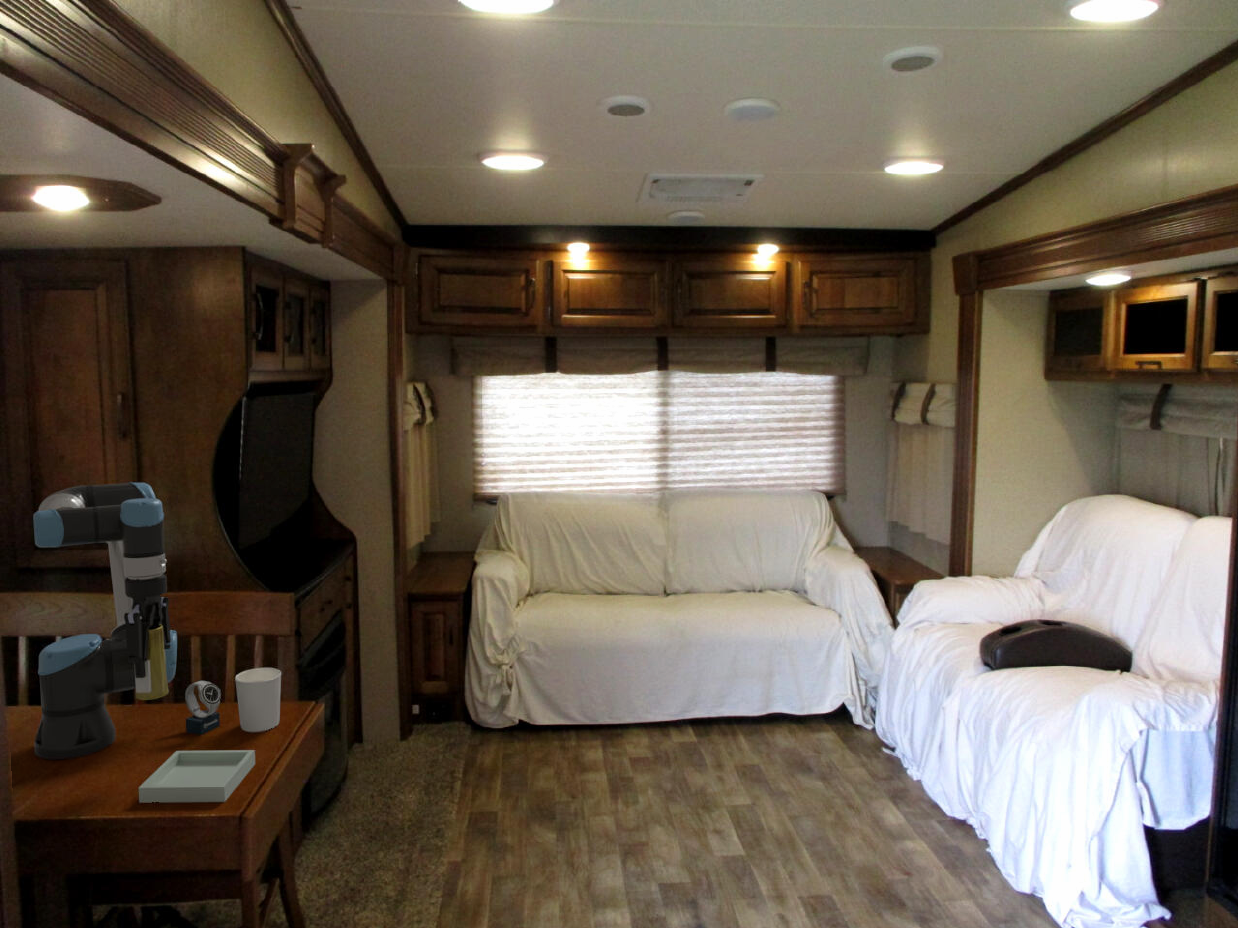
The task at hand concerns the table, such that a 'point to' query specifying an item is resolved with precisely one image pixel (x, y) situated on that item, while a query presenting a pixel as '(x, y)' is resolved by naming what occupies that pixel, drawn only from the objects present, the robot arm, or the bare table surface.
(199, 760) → the tray
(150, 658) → the vase
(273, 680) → the candle holder
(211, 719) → the watch
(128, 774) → the table surface
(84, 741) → the robot arm
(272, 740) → the table surface
